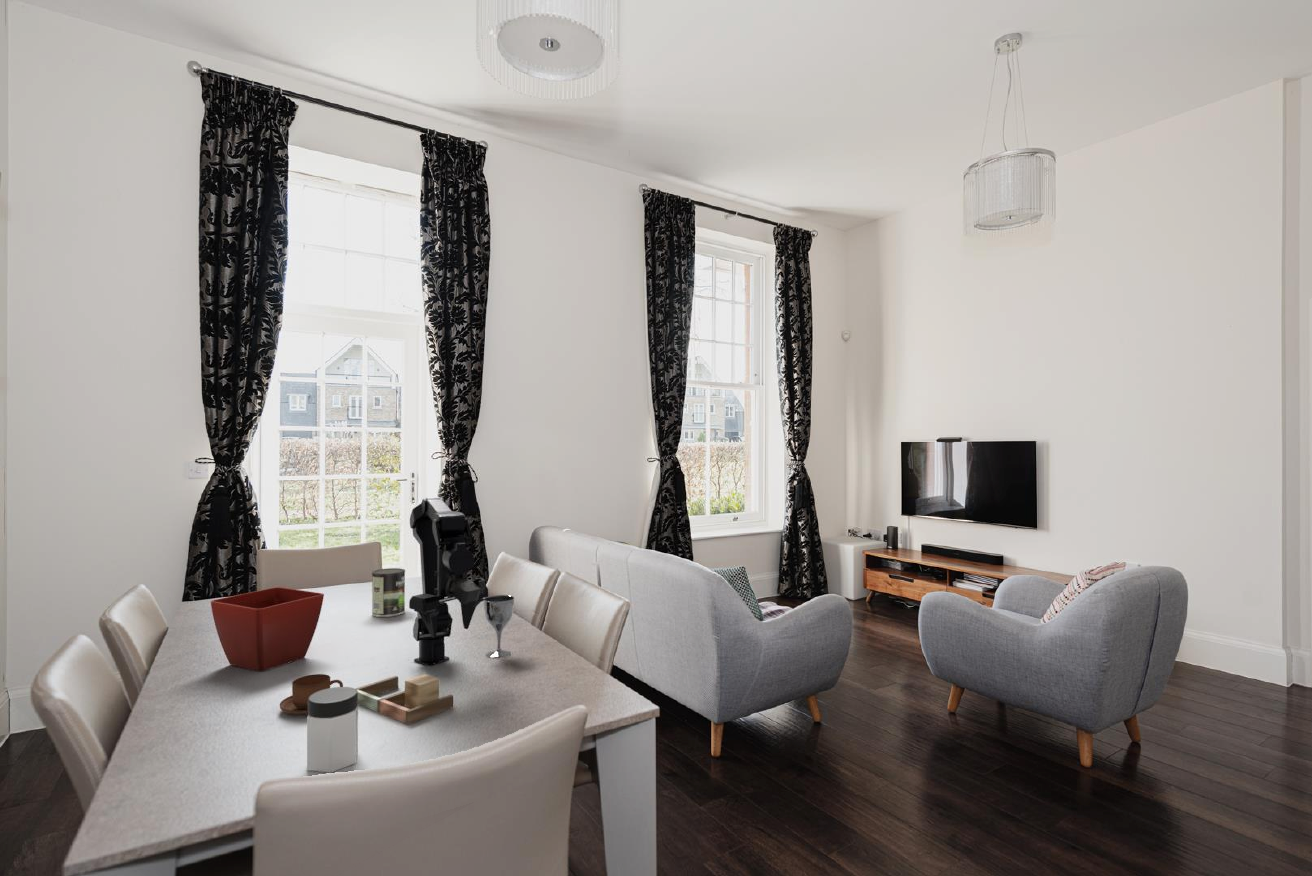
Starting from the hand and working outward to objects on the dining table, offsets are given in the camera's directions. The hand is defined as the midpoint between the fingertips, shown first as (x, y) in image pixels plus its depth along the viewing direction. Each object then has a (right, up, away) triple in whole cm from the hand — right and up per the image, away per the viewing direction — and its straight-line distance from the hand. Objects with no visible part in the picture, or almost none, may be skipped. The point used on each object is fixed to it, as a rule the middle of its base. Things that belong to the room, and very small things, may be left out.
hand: (450, 633), depth 161 cm
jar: (-9, -12, -39) cm, 42 cm away
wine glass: (+6, -12, +23) cm, 26 cm away
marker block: (-2, -12, -14) cm, 19 cm away
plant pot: (-52, -12, +16) cm, 56 cm away
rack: (-7, -12, -12) cm, 18 cm away
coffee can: (-40, -12, +66) cm, 78 cm away
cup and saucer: (-26, -12, -14) cm, 32 cm away
